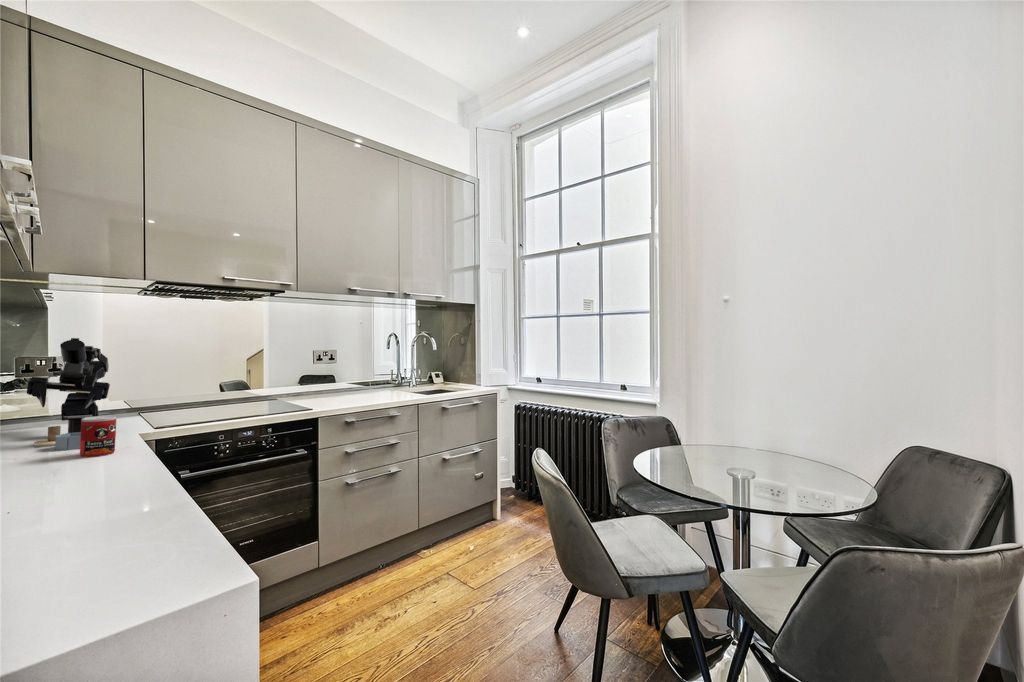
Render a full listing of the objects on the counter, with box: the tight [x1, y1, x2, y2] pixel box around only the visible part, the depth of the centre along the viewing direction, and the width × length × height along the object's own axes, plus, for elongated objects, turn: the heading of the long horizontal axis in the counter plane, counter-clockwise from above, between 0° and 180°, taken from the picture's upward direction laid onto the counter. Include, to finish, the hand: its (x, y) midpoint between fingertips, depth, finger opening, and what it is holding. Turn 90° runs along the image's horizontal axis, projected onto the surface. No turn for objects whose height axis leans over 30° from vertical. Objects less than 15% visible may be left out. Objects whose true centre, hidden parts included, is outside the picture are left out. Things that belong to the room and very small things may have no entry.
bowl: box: [54, 432, 81, 451], centre depth 136 cm, size 9×9×4 cm
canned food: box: [79, 415, 117, 458], centre depth 129 cm, size 8×8×11 cm
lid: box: [33, 425, 62, 447], centre depth 140 cm, size 9×9×6 cm
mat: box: [34, 446, 52, 449], centre depth 140 cm, size 10×8×1 cm
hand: (64, 407), depth 136 cm, fingers open, 9 cm apart
